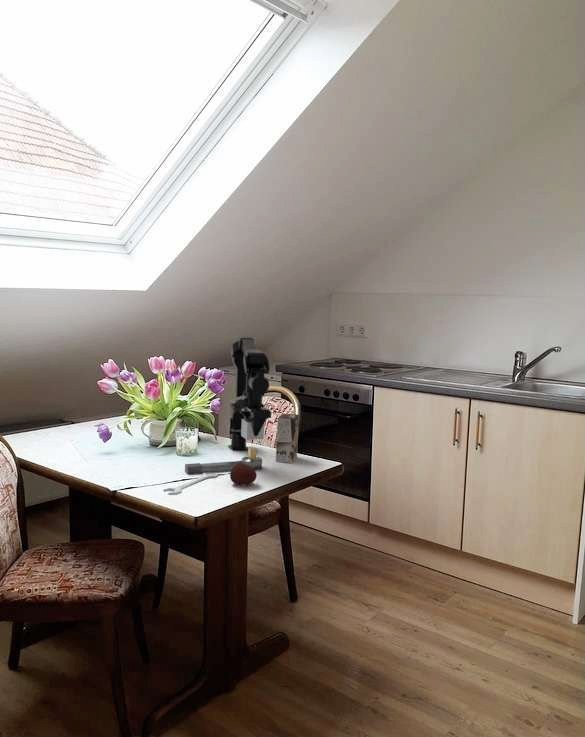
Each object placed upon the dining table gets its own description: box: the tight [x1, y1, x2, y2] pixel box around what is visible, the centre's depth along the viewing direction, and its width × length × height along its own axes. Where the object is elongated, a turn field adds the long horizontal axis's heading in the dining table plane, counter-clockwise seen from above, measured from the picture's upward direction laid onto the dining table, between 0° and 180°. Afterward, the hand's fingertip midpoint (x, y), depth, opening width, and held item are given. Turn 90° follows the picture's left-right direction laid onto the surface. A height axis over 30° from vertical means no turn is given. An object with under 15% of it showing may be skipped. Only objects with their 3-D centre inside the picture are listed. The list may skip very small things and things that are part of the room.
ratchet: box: [184, 446, 263, 475], centre depth 221 cm, size 7×26×7 cm, turn 113°
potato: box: [229, 463, 257, 486], centre depth 206 cm, size 7×8×7 cm
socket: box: [241, 418, 265, 441], centre depth 223 cm, size 6×6×6 cm
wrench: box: [163, 472, 219, 496], centre depth 205 cm, size 25×2×5 cm
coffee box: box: [275, 413, 300, 464], centre depth 237 cm, size 9×6×16 cm
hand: (252, 433), depth 224 cm, fingers closed on socket, 6 cm apart
